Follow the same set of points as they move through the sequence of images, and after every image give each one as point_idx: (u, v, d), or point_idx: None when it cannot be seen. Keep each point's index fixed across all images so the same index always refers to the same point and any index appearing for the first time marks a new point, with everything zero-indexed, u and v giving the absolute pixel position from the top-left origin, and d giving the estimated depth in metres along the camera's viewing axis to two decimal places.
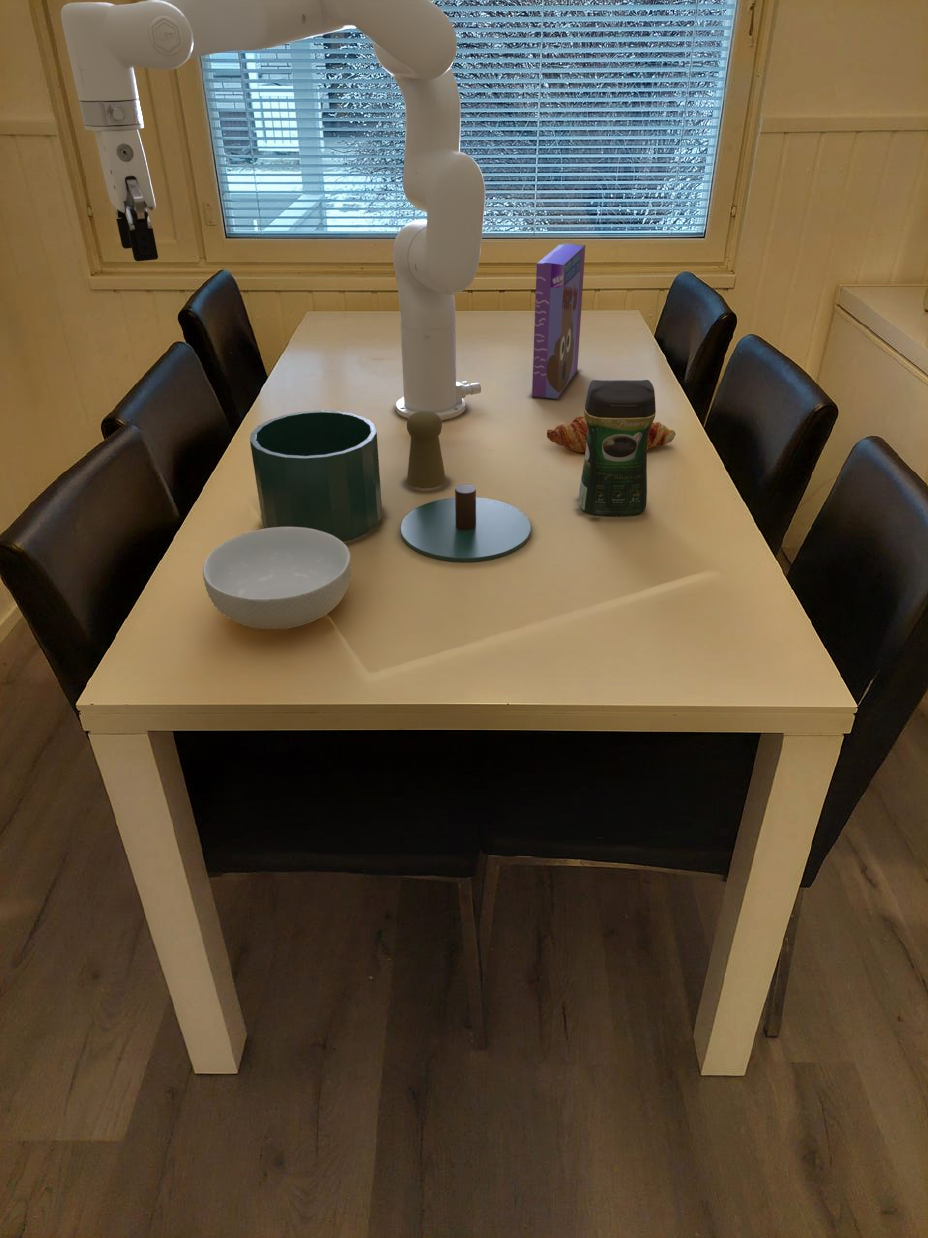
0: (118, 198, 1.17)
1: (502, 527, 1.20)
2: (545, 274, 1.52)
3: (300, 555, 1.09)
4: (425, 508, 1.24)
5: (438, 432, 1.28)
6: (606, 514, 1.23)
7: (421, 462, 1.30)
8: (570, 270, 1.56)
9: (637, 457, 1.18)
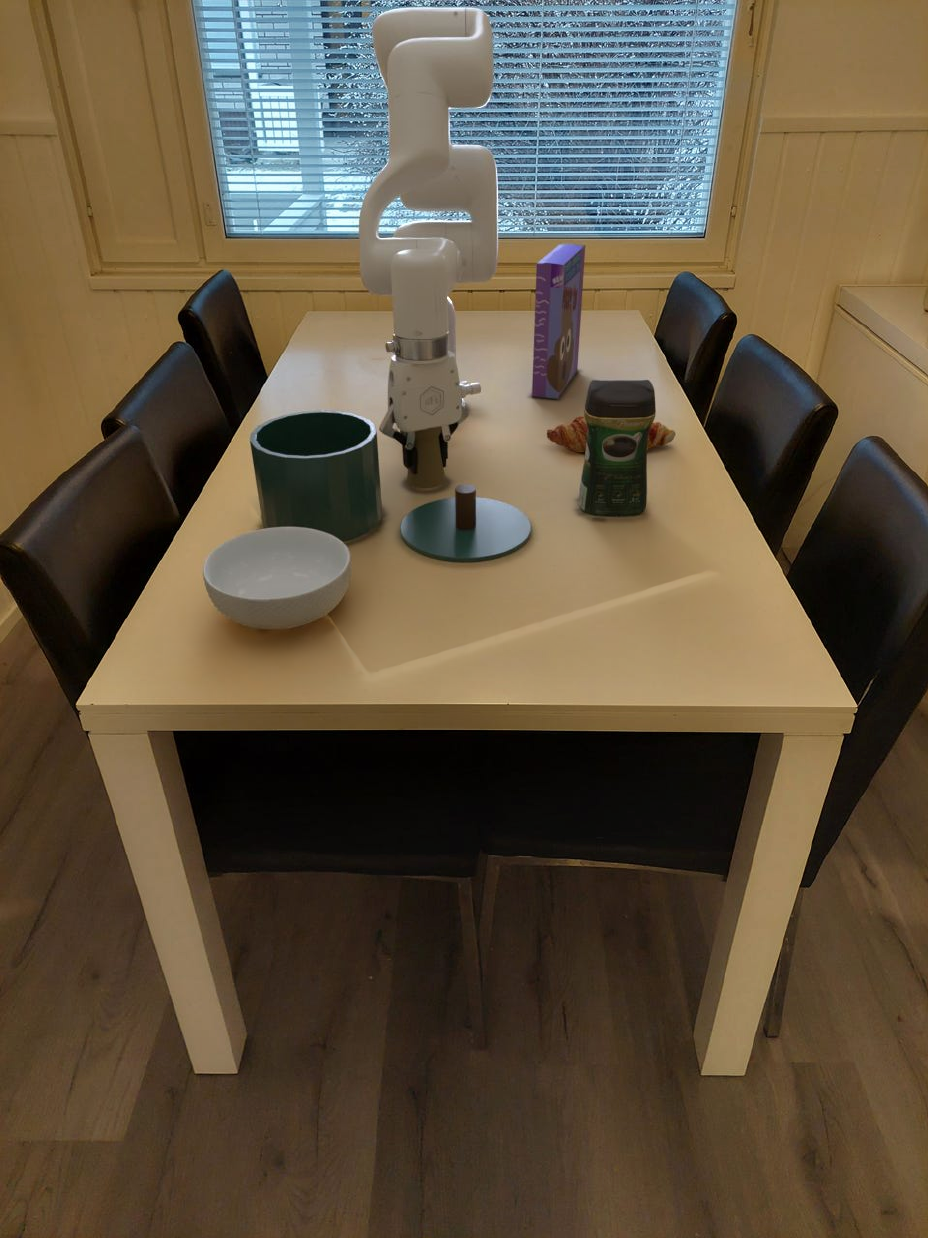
0: None
1: (502, 527, 1.20)
2: (545, 274, 1.52)
3: (300, 555, 1.09)
4: (425, 508, 1.24)
5: (438, 432, 1.28)
6: (606, 514, 1.23)
7: (421, 462, 1.30)
8: (570, 270, 1.56)
9: (637, 457, 1.18)
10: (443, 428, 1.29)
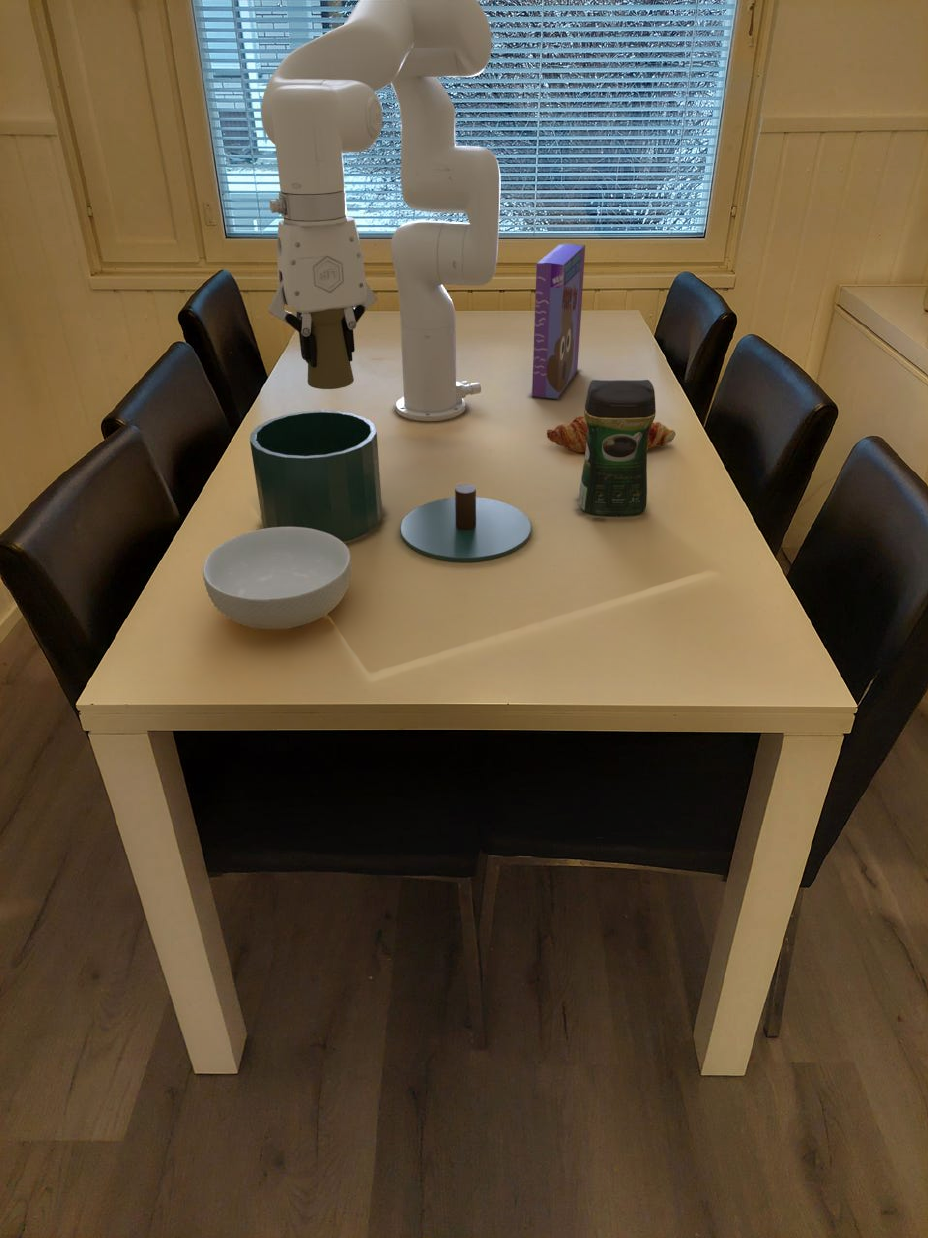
0: None
1: (502, 527, 1.20)
2: (545, 274, 1.52)
3: (300, 555, 1.09)
4: (425, 508, 1.24)
5: (339, 316, 1.09)
6: (606, 514, 1.23)
7: (321, 352, 1.11)
8: (570, 270, 1.56)
9: (637, 457, 1.18)
10: (346, 312, 1.10)
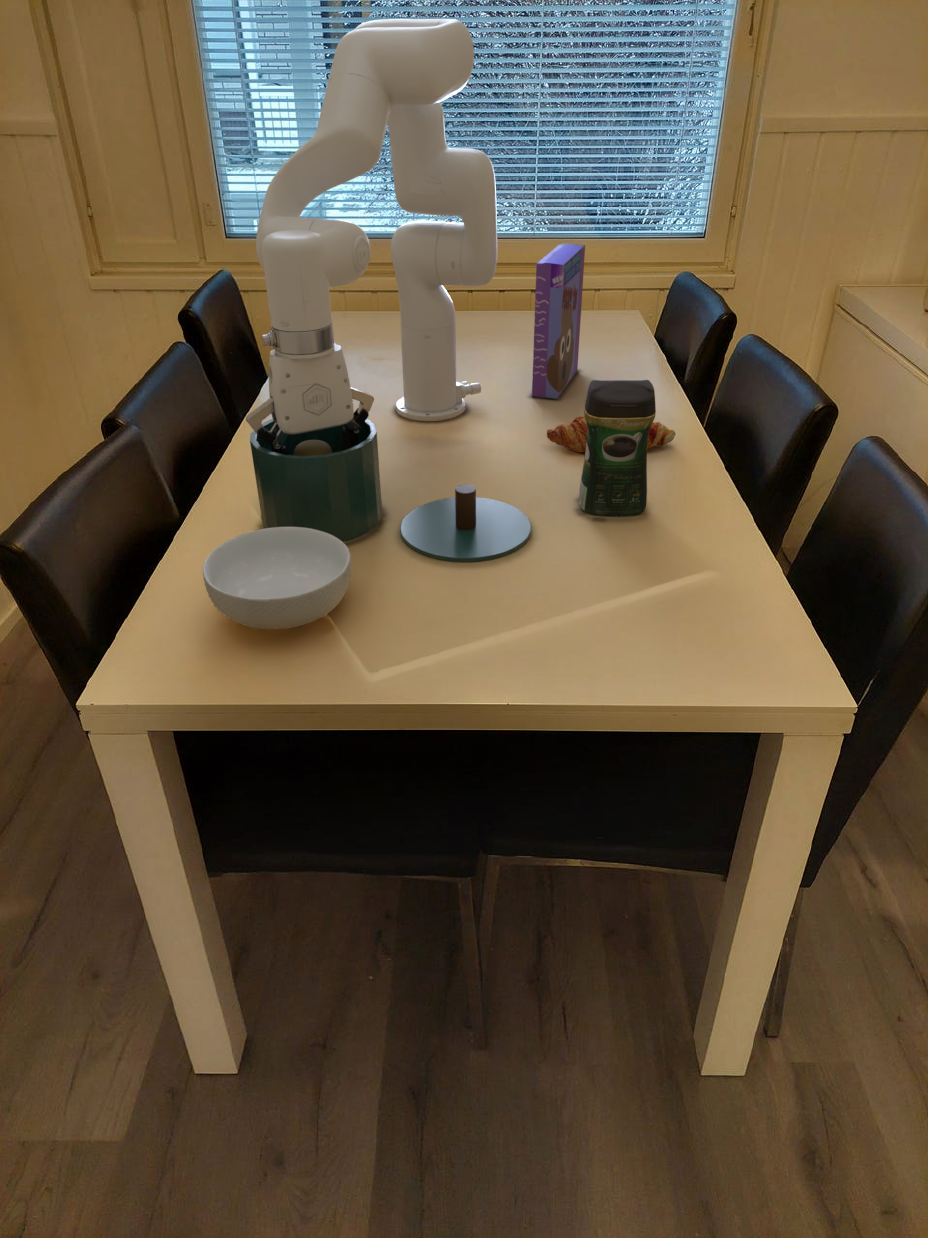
0: None
1: (502, 527, 1.20)
2: (545, 274, 1.52)
3: (300, 555, 1.09)
4: (425, 508, 1.24)
5: None
6: (606, 514, 1.23)
7: None
8: (570, 270, 1.56)
9: (637, 457, 1.18)
10: (346, 422, 1.17)
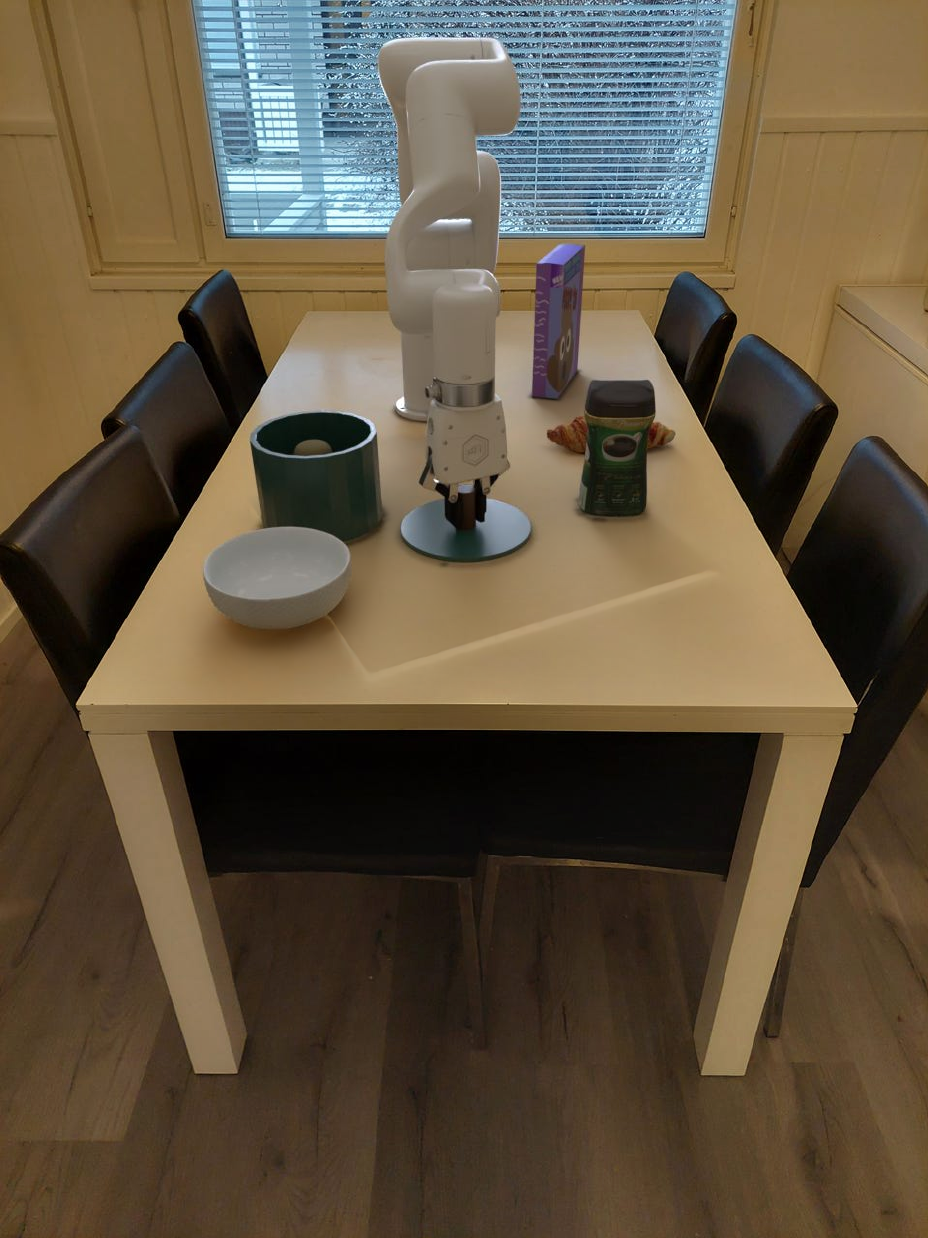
0: None
1: (502, 527, 1.20)
2: (545, 274, 1.52)
3: (300, 555, 1.09)
4: (425, 508, 1.24)
5: None
6: (606, 514, 1.23)
7: None
8: (570, 270, 1.56)
9: (637, 457, 1.18)
10: (483, 479, 1.16)
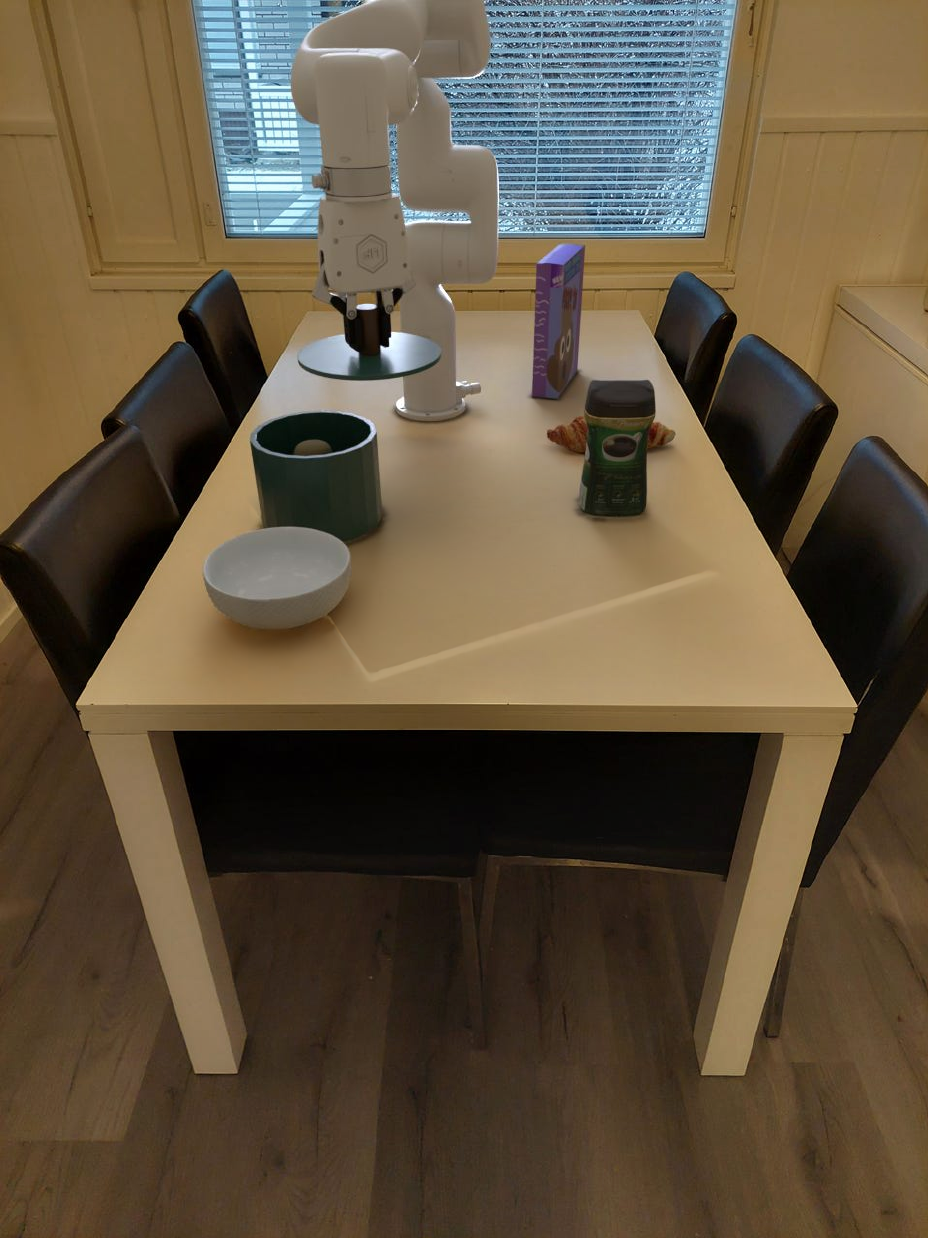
0: None
1: (409, 353, 1.09)
2: (545, 274, 1.52)
3: (300, 555, 1.09)
4: (328, 340, 1.14)
5: None
6: (606, 514, 1.23)
7: None
8: (570, 270, 1.56)
9: (637, 457, 1.18)
10: (385, 294, 1.05)
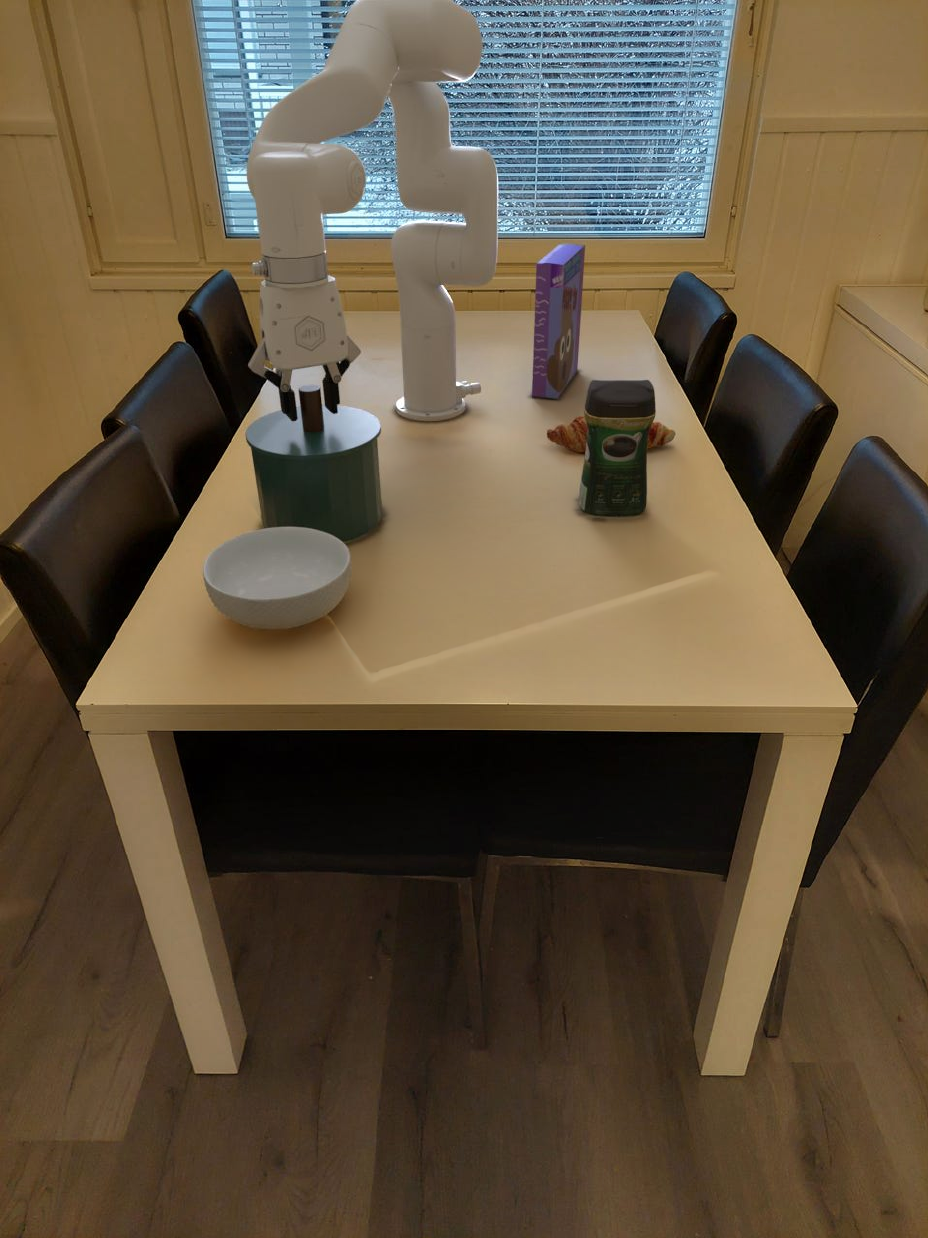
0: None
1: (350, 429, 1.16)
2: (545, 274, 1.52)
3: (300, 555, 1.09)
4: (277, 414, 1.21)
5: None
6: (606, 514, 1.23)
7: None
8: (570, 270, 1.56)
9: (637, 457, 1.18)
10: (330, 367, 1.12)
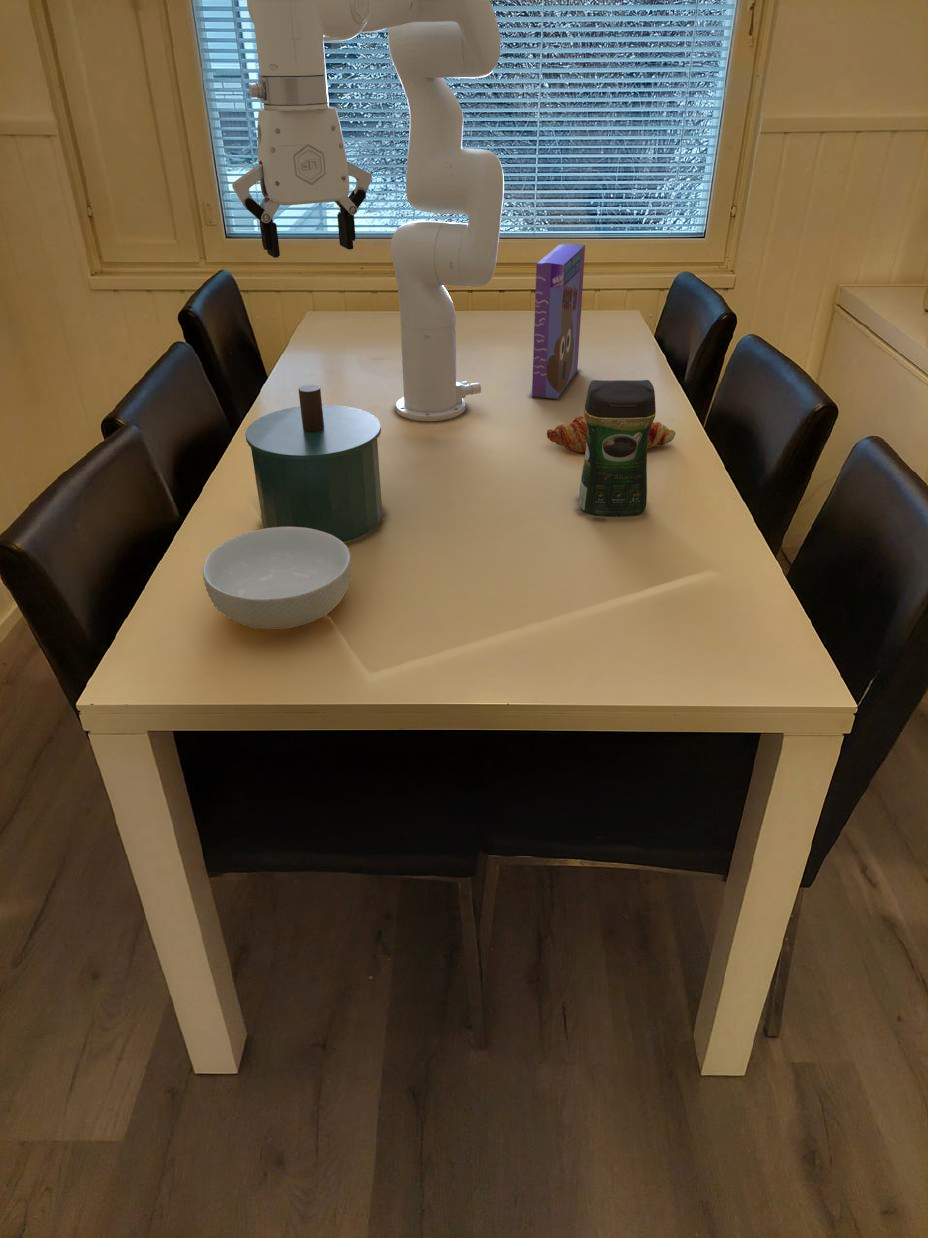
0: (262, 183, 1.07)
1: (350, 429, 1.16)
2: (545, 274, 1.52)
3: (300, 555, 1.09)
4: (277, 414, 1.21)
5: None
6: (606, 514, 1.23)
7: None
8: (570, 270, 1.56)
9: (637, 457, 1.18)
10: (342, 200, 1.09)
